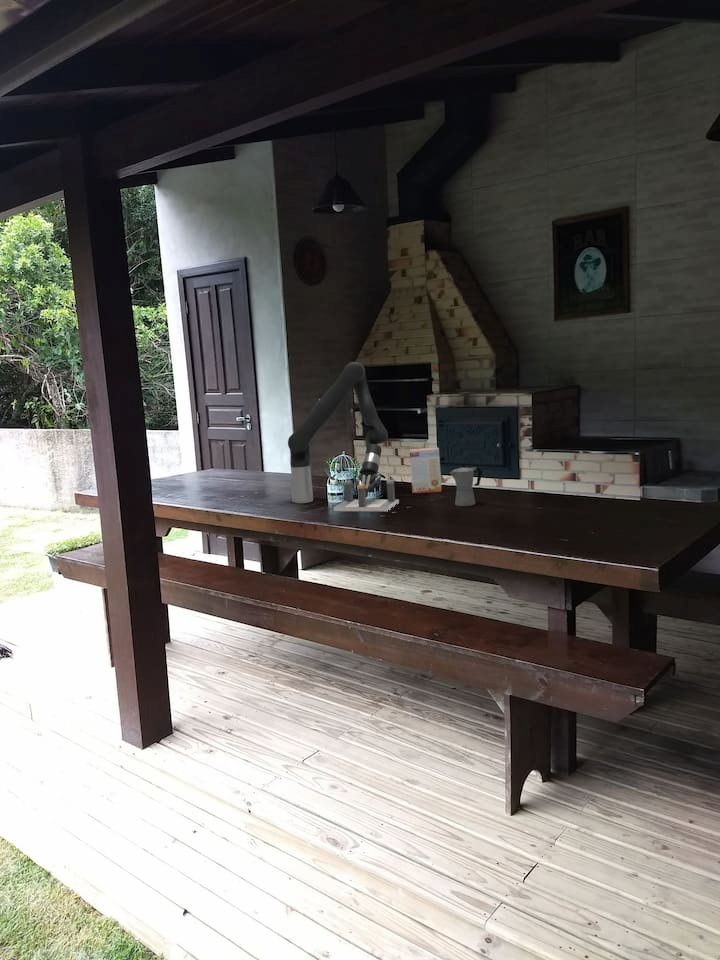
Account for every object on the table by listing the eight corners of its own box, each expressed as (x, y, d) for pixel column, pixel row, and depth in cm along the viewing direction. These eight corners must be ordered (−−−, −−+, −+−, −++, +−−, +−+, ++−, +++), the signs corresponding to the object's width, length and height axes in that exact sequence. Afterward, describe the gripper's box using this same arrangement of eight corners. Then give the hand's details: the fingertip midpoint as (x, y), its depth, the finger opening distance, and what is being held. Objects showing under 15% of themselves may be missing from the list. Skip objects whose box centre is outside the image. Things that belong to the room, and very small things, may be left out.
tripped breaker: (358, 506, 326) (357, 485, 325) (361, 504, 329) (359, 484, 328) (364, 506, 326) (362, 485, 324) (366, 504, 328) (364, 484, 327)
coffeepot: (455, 507, 318) (453, 466, 315) (446, 504, 327) (444, 463, 324) (488, 503, 322) (486, 462, 319) (478, 499, 331) (477, 459, 328)
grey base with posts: (333, 511, 329) (331, 487, 327) (347, 503, 345) (345, 480, 343) (387, 511, 321) (386, 486, 319) (399, 503, 336) (397, 479, 335)
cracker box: (441, 489, 360) (439, 446, 356) (441, 492, 354) (439, 448, 351) (412, 491, 361) (409, 448, 358) (412, 493, 356) (409, 450, 352)
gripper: (354, 460, 338) (347, 492, 328) (382, 460, 333) (375, 492, 324) (359, 470, 344) (352, 501, 334) (386, 469, 339) (380, 501, 330)
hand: (363, 497), depth 329 cm, fingers closed
